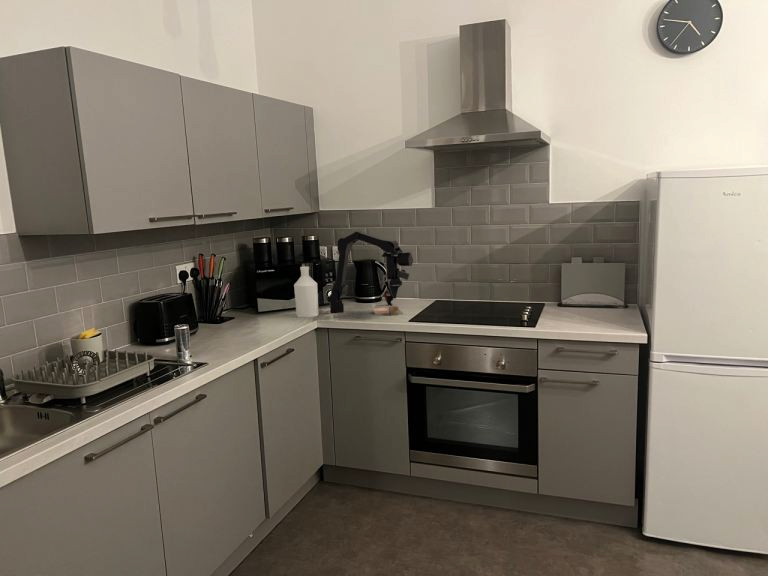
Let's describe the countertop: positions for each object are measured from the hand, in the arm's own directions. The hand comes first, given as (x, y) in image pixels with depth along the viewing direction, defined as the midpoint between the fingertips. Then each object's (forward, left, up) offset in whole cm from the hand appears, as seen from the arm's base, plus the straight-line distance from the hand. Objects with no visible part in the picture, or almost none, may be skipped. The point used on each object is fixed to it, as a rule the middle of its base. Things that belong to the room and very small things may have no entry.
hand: (393, 296), depth 301 cm
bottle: (-42, +18, -10) cm, 47 cm away
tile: (-9, +7, -8) cm, 14 cm away
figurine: (+3, +24, -10) cm, 26 cm away
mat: (-7, +7, -9) cm, 14 cm away
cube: (0, 0, -9) cm, 9 cm away
